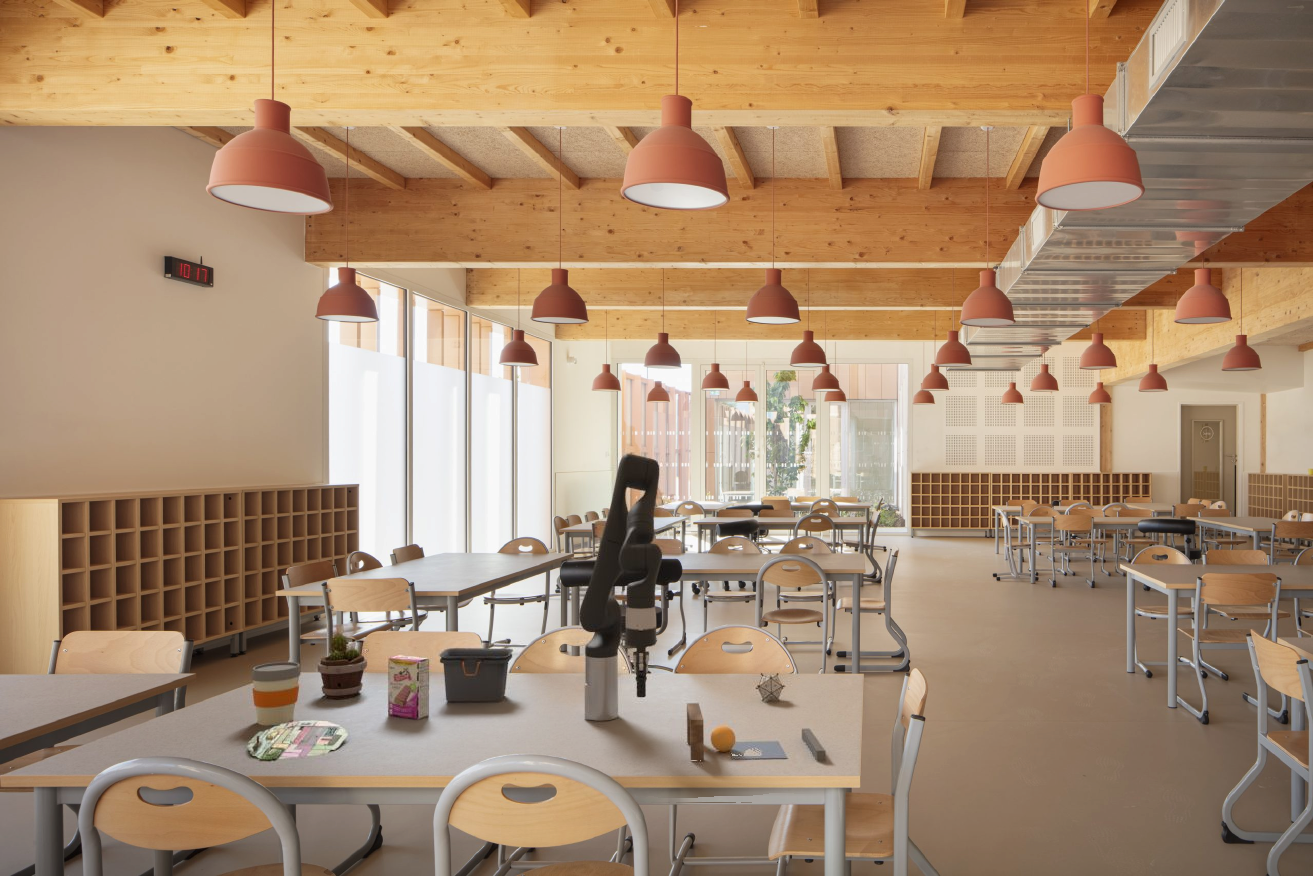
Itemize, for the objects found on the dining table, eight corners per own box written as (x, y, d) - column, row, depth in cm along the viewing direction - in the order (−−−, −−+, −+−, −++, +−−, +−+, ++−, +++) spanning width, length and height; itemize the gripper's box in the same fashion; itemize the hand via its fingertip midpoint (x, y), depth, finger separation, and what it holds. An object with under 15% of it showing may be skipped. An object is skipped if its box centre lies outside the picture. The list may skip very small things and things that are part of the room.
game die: (773, 715, 255) (775, 693, 249) (749, 701, 259) (750, 679, 254) (789, 695, 261) (791, 673, 255) (765, 682, 265) (766, 660, 260)
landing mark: (732, 759, 203) (732, 758, 203) (726, 742, 216) (726, 742, 216) (787, 758, 204) (787, 757, 204) (778, 742, 217) (778, 741, 217)
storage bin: (514, 693, 269) (514, 647, 269) (507, 706, 253) (507, 657, 254) (446, 694, 268) (446, 647, 269) (434, 707, 253) (434, 658, 253)
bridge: (691, 761, 202) (690, 719, 202) (687, 742, 217) (686, 703, 217) (703, 761, 202) (703, 719, 203) (698, 742, 217) (698, 703, 217)
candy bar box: (386, 716, 243) (387, 657, 244) (399, 711, 248) (399, 654, 249) (417, 720, 239) (418, 660, 239) (429, 716, 243) (430, 657, 244)
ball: (706, 743, 207) (724, 726, 206) (704, 733, 213) (722, 717, 212) (723, 761, 207) (741, 744, 207) (721, 750, 213) (738, 733, 213)
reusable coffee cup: (240, 724, 236) (241, 669, 236) (275, 713, 247) (275, 660, 248) (276, 729, 231) (277, 672, 232) (309, 717, 243) (310, 663, 244)
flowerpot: (373, 696, 266) (374, 631, 267) (322, 704, 257) (322, 636, 258) (360, 687, 278) (361, 625, 279) (311, 694, 269) (311, 629, 270)
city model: (238, 777, 200) (239, 752, 200) (242, 738, 222) (243, 715, 221) (351, 764, 210) (352, 740, 210) (345, 728, 232) (346, 706, 231)
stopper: (816, 761, 201) (816, 750, 201) (801, 738, 219) (801, 728, 219) (825, 761, 201) (825, 750, 201) (809, 738, 219) (809, 728, 219)
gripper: (625, 621, 217) (626, 690, 216) (625, 630, 204) (625, 704, 203) (655, 620, 217) (655, 689, 216) (656, 629, 204) (657, 703, 203)
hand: (641, 696), depth 210 cm, fingers closed
